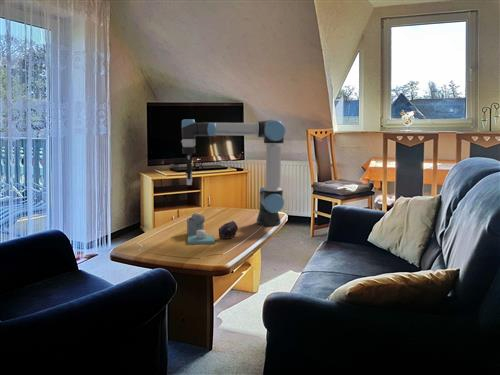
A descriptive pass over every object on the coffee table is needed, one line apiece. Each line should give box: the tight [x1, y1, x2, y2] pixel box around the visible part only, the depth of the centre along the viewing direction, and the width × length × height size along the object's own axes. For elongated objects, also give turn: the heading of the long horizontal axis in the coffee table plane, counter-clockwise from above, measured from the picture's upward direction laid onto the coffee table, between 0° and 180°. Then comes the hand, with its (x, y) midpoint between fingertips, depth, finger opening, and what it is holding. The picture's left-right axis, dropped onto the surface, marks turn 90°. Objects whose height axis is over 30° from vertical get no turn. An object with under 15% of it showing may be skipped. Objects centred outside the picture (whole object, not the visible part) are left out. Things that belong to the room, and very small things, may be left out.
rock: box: [218, 220, 239, 240], centre depth 244 cm, size 12×9×10 cm
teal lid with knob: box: [187, 229, 215, 245], centre depth 237 cm, size 14×12×6 cm
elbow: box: [186, 212, 206, 237], centre depth 249 cm, size 11×9×12 cm
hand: (189, 183), depth 255 cm, fingers open, 13 cm apart
